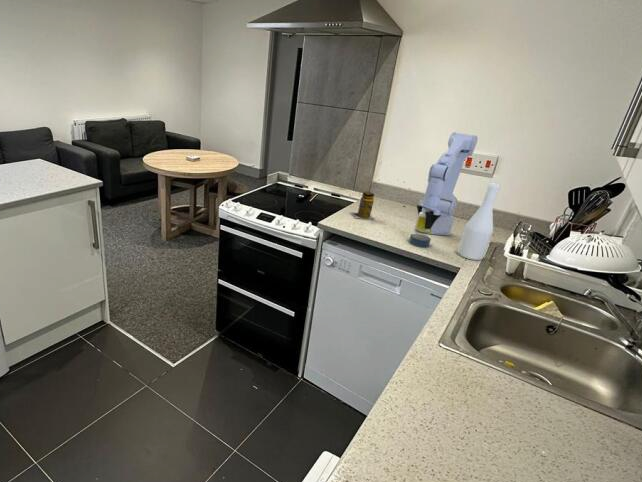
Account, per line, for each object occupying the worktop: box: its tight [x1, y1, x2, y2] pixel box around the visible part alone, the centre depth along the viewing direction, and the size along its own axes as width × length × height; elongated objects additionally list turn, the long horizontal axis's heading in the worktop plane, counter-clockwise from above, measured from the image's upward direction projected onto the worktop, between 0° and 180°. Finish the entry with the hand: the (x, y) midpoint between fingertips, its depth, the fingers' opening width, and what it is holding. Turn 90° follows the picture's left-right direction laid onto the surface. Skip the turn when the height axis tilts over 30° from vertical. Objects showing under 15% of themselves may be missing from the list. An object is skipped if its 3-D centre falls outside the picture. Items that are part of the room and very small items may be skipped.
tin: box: [408, 233, 431, 248], centre depth 165 cm, size 8×8×3 cm
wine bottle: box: [457, 182, 501, 261], centre depth 152 cm, size 10×10×30 cm
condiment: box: [351, 191, 375, 220], centre depth 190 cm, size 7×8×12 cm
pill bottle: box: [413, 207, 432, 237], centre depth 161 cm, size 6×6×11 cm
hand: (424, 225), depth 162 cm, fingers closed on pill bottle, 6 cm apart
